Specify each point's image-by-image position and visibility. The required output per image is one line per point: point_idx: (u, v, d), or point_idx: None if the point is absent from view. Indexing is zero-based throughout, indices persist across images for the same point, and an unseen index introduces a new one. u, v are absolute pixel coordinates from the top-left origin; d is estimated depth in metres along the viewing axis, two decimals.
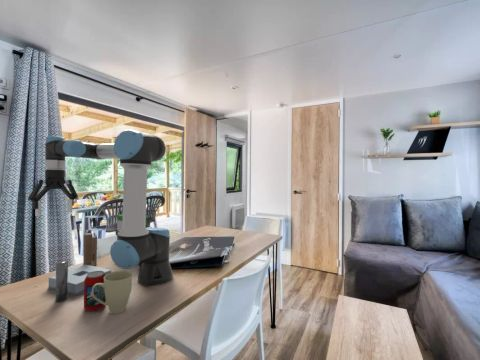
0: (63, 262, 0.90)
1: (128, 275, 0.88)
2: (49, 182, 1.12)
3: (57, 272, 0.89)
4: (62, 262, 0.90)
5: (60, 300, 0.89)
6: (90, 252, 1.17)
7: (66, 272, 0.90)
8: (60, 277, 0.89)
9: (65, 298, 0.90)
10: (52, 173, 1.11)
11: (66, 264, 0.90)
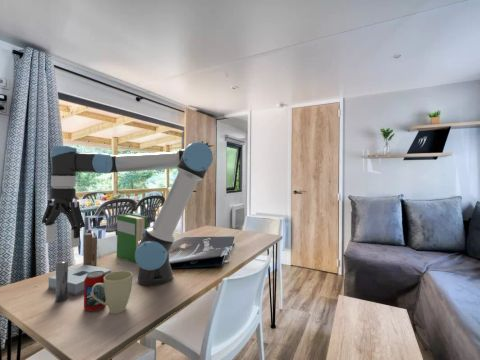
0: (63, 262, 0.90)
1: (128, 275, 0.88)
2: (54, 203, 0.90)
3: (57, 272, 0.89)
4: (62, 262, 0.90)
5: (60, 300, 0.89)
6: (90, 252, 1.17)
7: (66, 272, 0.90)
8: (60, 277, 0.89)
9: (65, 298, 0.90)
10: None
11: (66, 264, 0.90)
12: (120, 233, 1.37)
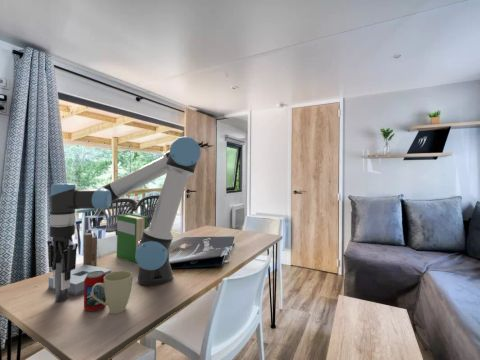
0: None
1: (128, 275, 0.88)
2: (53, 241, 0.90)
3: (57, 272, 0.89)
4: None
5: (60, 300, 0.89)
6: (90, 252, 1.17)
7: None
8: (60, 277, 0.89)
9: (65, 298, 0.90)
10: None
11: None
12: (120, 233, 1.37)
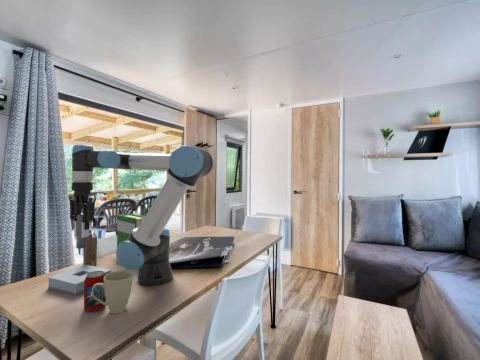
0: None
1: (128, 275, 0.88)
2: (74, 195, 1.03)
3: (78, 222, 1.01)
4: (82, 214, 1.03)
5: (80, 247, 1.02)
6: (90, 252, 1.17)
7: None
8: (81, 226, 1.01)
9: (85, 246, 1.03)
10: None
11: None
12: (120, 233, 1.37)
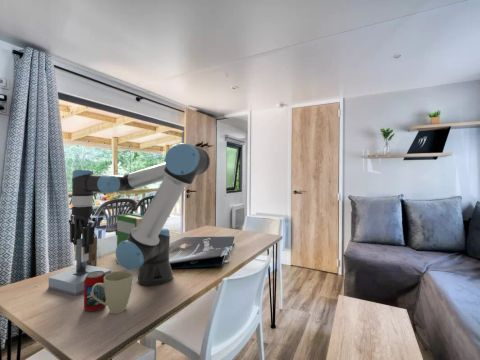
0: None
1: (128, 275, 0.88)
2: (74, 219, 1.03)
3: (78, 246, 1.02)
4: None
5: (80, 271, 1.02)
6: (90, 252, 1.17)
7: None
8: (80, 251, 1.02)
9: (84, 270, 1.03)
10: None
11: None
12: (120, 233, 1.37)
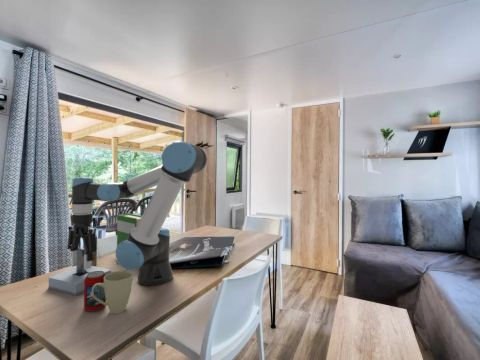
0: (82, 248, 1.04)
1: (128, 275, 0.88)
2: (74, 227, 1.03)
3: (78, 257, 1.02)
4: (82, 249, 1.03)
5: None
6: None
7: None
8: (80, 261, 1.02)
9: None
10: None
11: (85, 250, 1.04)
12: (120, 233, 1.37)
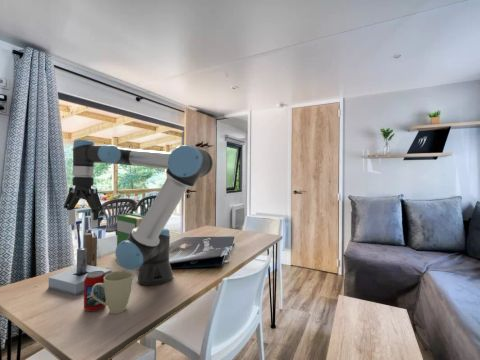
0: (83, 249, 1.03)
1: (128, 275, 0.88)
2: (75, 190, 1.03)
3: (78, 257, 1.02)
4: (82, 249, 1.03)
5: None
6: (90, 252, 1.17)
7: (85, 257, 1.03)
8: (81, 261, 1.02)
9: None
10: None
11: (85, 250, 1.03)
12: (120, 233, 1.37)
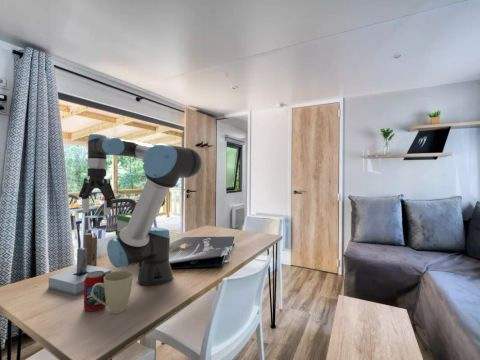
0: (83, 248, 1.04)
1: (128, 275, 0.88)
2: (90, 181, 1.13)
3: (78, 257, 1.02)
4: (83, 249, 1.03)
5: None
6: (90, 252, 1.17)
7: (86, 257, 1.04)
8: (81, 261, 1.02)
9: None
10: None
11: (86, 250, 1.04)
12: None
